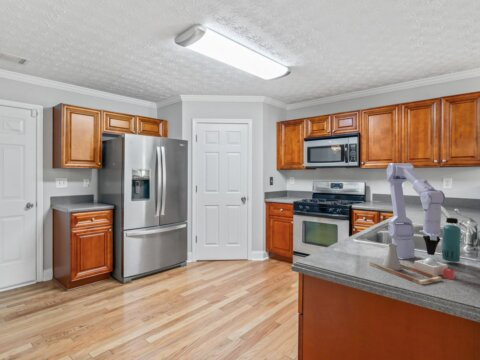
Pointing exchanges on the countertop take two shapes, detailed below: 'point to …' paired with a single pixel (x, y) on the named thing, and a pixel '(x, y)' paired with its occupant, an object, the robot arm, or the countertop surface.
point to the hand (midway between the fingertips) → (430, 254)
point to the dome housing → (430, 267)
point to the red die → (448, 273)
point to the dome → (430, 262)
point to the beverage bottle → (451, 241)
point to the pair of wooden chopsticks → (432, 277)
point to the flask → (392, 259)
